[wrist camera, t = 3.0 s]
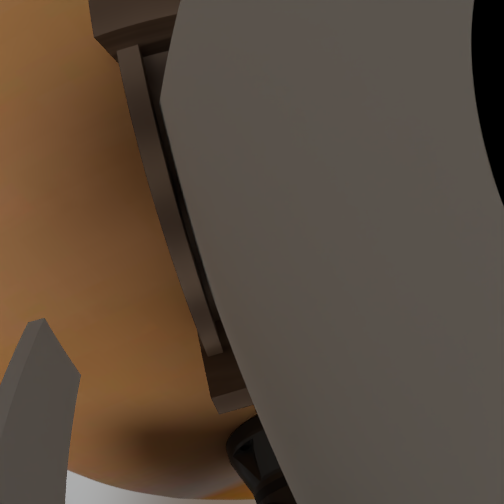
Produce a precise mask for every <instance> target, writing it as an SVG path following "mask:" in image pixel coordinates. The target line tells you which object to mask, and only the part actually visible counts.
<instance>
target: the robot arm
mask: <svg viewBox="0 0 504 504" xmlns="http://www.w3.org/2000/svg"><path fill="white" fill-rule="evenodd" d="M80 377H81V374H80V373H79V372H78V370H77V369H76V367H75V366H74V364H73V363H72V361H71V360H70V358H69V357H68V355H67V354H66V352H65V351H64V349H63V348H62V346H61V345H60V343H59V341H58V340H57V338H56V337H55V335H54V333H53V332H52V330H51V328H50V327H49V325H48V323H47V322H46V320H45V318H42V319H39V320H35V321H32V322H28V324H27V326H26V328H25V330H24V332H23V334H22V336H21V338H20V341H19V343H18V345H17V347H16V349H15V352H14V354H13V356H12V358H11V361H10V363H9V365H8V368H7V370H6V373H5V375H4V378H3V380H2V383H1V385H0V504H65V493H66V477H67V466H68V456H69V447H70V438H71V431H72V424H73V417H74V411H75V404H76V399H77V393H78V387H79V382H80ZM226 450H227V453H228V457H229V461H230V463H231V465H232V467H233V468H234V469H235V471H236V472H237V473H238V475H239V476H240V477H241V479H242V480H243V481H244V483H245V484H246V485H247V487H248V488H249V489H250V490H251V492H252V493H253V495H254V497H255V500H256V503H257V504H297V503H296V501H295V498H294V496H293V494H292V492H291V490H290V488H289V485H288V483H287V481H286V479H285V476H284V474H283V472H282V470H281V467H280V465H279V463H278V461H277V458H276V456H275V454H274V452H273V449H272V447H271V445H270V442H269V440H268V438H267V435H266V433H265V430H264V428H263V426H262V423H261V421H260V418H259V416H256V417H254V418H252V419H251V420H249V421H247V422H246V423H244V424H243V425H241V426H240V427H239V428H238V429H236V430H235V431H234V432H233V434H232V435H231V436H230V437H229V439H228V441H227V445H226Z"/></svg>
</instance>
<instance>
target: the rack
mask: <svg viewBox="0 0 504 504" xmlns="http://www.w3.org/2000/svg"><path fill="white" fill-rule="evenodd" d="M88 1H89V8H90V15H91V22H92V28H93V34H94V38H95V39H96V40H97V41H98V42H99V43H100V44H101V45H102V46H103V47H104V48H105V49H106V50H107V51H108V53H109V54H110V55H111V56H112V57H113V58H114V59H115V60H116V61H117V62H118V63H119V66H120V71H121V76H122V81H123V85H124V90H125V94H126V99H127V103H128V107H129V111H130V116H131V120H132V124H133V128H134V132H135V136H136V140H137V143H138V147H139V151H140V155H141V159H142V162H143V166H144V170H145V173H146V177H147V180H148V184H149V187H150V191H151V194H152V197H153V201H154V204H155V207H156V211H157V214H158V217H159V221H160V224H161V227H162V230H163V233H164V236H165V239H166V243H167V246H168V249H169V252H170V255H171V258H172V261H173V264H174V267H175V270H176V272H177V275H178V278H179V281H180V284H181V287H182V290H183V292H184V295H185V298H186V301H187V304H188V306H189V309H190V312H191V314H192V317H193V320H194V322H195V325H196V328H197V332H198V337H199V342H200V347H201V352H202V357H203V362H204V367H205V372H206V377H207V381H208V386H209V391H210V395H211V399H212V401H213V403H214V405H215V407H216V409H217V411H218V413H219V414H223V413H226V412H230V411H233V410H237V409H240V408H243V407H247V406H250V405H253V401H252V399H251V396H250V394H249V391H248V389H247V386H246V384H245V381H244V379H243V376H242V374H241V371H240V369H239V366H238V364H237V361H236V358H235V356H234V353H233V351H232V348H231V345H230V343H229V340H228V337H227V335H226V332H225V329H224V327H223V324H222V321H221V318H220V316H219V313H218V310H217V307H216V305H215V302H214V299H213V296H212V293H211V291H210V288H209V285H208V282H207V278H206V275H205V272H204V268H203V265H202V262H201V259H200V255H199V252H198V248H197V245H196V242H195V238H194V235H193V231H192V228H191V224H190V221H189V217H188V214H187V210H186V207H185V203H184V199H183V196H182V192H181V188H180V185H179V181H178V177H177V174H176V170H175V166H174V162H173V158H172V154H171V150H170V146H169V143H168V139H167V135H166V130H165V126H164V122H163V118H162V114H161V110H160V106H159V102H160V96H161V90H162V84H163V78H164V73H165V68H166V62H167V57H168V52H169V48H170V43H171V38H172V34H173V29H174V25H175V21H176V17H177V13H178V9H179V5H180V1H181V0H88Z"/></svg>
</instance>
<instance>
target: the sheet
mask: <svg viewBox="0 0 504 504" xmlns="http://www.w3.org/2000/svg"><path fill="white" fill-rule="evenodd" d="M159 106H160V110H161V114H162V118H163V122H164V126H165V130H166V135H167V139H168V143H169V146H170V150H171V154H172V158H173V162H174V166H175V170H176V174H177V177H178V181H179V185H180V188H181V192H182V196H183V199H184V203H185V207H186V210H187V214H188V217H189V221H190V224H191V228H192V231H193V235H194V238H195V242H196V245H197V248H198V252H199V255H200V259H201V262H202V265H203V268H204V272H205V275H206V278H207V282H208V285H209V288H210V291H211V293H212V296H213V299H214V302H215V305H216V307H217V310H218V313H219V316H220V318H221V321H222V324H223V327H224V329H225V332H226V335H227V337H228V340H229V343H230V345H231V348H232V351H233V353H234V356H235V358H236V361H237V364H238V366H239V369H240V371H241V374H242V376H243V379H244V381H245V384H246V386H247V389H248V391H249V394H250V396H251V399H252V401H253V404H254V406H255V409H256V411H257V414H258V416H259V418H260V421H261V423H262V426H263V428H264V430H265V433H266V435H267V438H268V440H269V442H270V445H271V447H272V449H273V452H274V454H275V456H276V458H277V461H278V463H279V465H280V467H281V470H282V472H283V474H284V476H285V479H286V481H287V483H288V485H289V488H290V490H291V492H292V494H293V496H294V498H295V501H296V503H297V504H504V0H181V1H180V5H179V9H178V13H177V17H176V21H175V25H174V29H173V34H172V38H171V43H170V48H169V52H168V57H167V62H166V68H165V73H164V78H163V84H162V90H161V96H160V102H159Z"/></svg>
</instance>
